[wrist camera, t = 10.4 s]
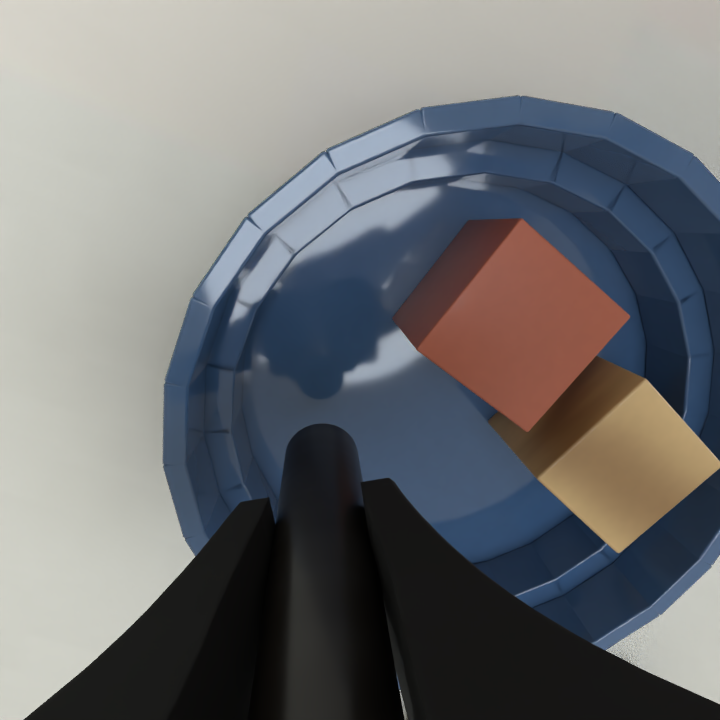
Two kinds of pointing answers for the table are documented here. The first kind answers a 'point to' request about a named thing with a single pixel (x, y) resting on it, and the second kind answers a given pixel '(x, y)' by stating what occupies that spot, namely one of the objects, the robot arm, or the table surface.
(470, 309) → the terracotta block
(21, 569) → the table surface
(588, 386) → the maple block
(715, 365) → the bowl
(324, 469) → the dark grey rod
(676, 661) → the table surface
